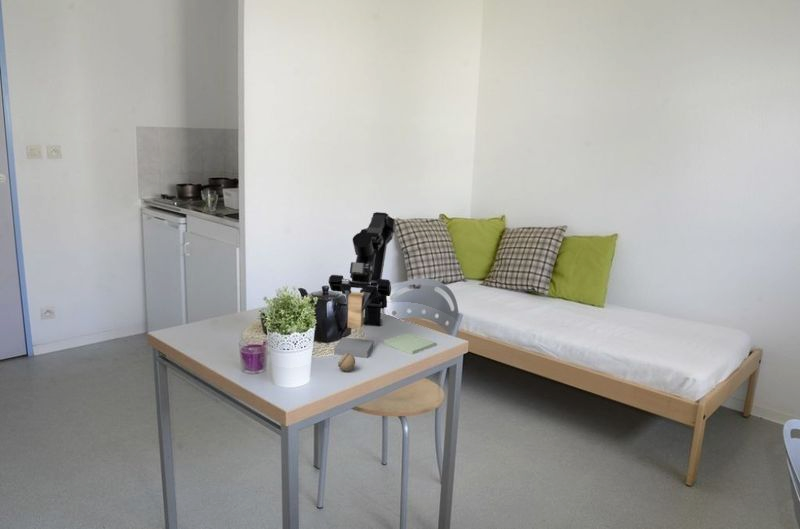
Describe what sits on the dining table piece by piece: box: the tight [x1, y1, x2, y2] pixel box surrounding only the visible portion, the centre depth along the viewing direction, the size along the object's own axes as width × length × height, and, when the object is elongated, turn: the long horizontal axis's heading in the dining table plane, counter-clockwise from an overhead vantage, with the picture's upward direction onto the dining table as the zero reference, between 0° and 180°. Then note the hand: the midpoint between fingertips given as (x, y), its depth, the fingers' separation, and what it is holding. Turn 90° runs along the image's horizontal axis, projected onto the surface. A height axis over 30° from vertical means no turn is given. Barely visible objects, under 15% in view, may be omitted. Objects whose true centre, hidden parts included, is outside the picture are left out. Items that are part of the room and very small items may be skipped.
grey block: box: [333, 336, 375, 359], centre depth 185 cm, size 10×10×2 cm
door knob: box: [337, 353, 356, 372], centre depth 169 cm, size 5×5×5 cm
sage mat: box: [382, 332, 437, 355], centre depth 193 cm, size 12×12×1 cm
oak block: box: [347, 291, 365, 330], centre depth 182 cm, size 4×4×10 cm
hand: (355, 309), depth 181 cm, fingers closed on oak block, 4 cm apart
